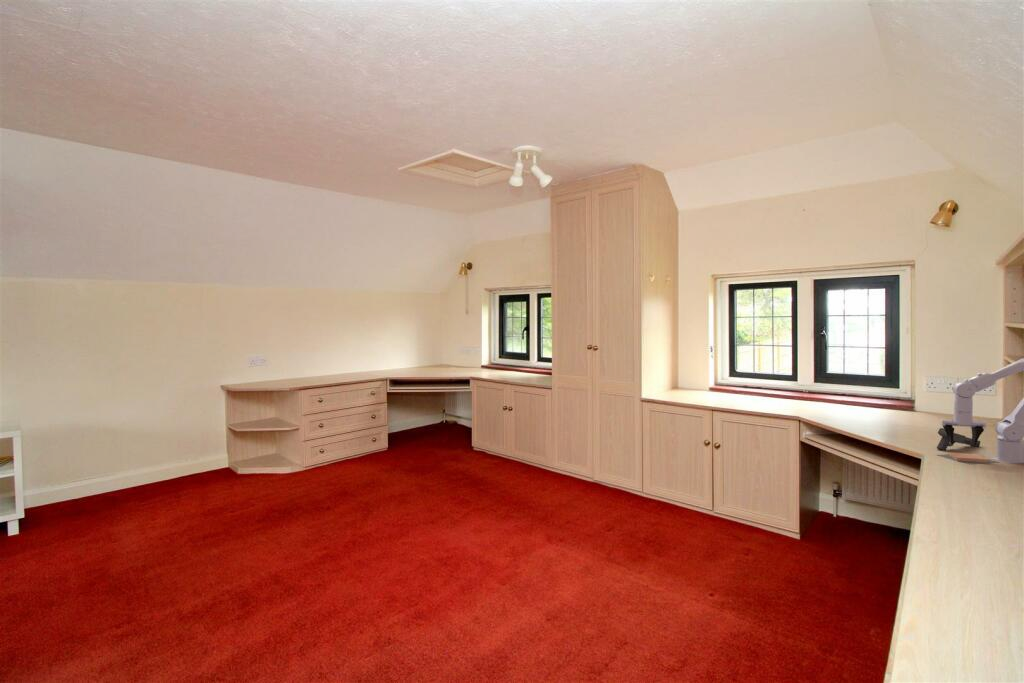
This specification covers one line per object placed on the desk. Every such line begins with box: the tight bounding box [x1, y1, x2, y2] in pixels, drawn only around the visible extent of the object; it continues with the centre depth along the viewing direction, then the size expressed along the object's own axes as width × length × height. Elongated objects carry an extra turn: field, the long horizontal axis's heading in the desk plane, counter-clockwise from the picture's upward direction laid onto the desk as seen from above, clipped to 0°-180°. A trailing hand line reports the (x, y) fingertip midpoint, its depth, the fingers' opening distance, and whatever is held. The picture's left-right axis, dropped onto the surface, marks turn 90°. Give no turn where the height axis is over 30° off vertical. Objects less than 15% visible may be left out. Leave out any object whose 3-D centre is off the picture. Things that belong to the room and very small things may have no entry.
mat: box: [936, 453, 1001, 465], centre depth 209 cm, size 14×14×1 cm
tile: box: [948, 452, 989, 464], centre depth 208 cm, size 2×10×8 cm
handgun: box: [936, 427, 981, 451], centre depth 226 cm, size 4×24×10 cm, turn 107°
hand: (962, 443), depth 212 cm, fingers open, 7 cm apart
